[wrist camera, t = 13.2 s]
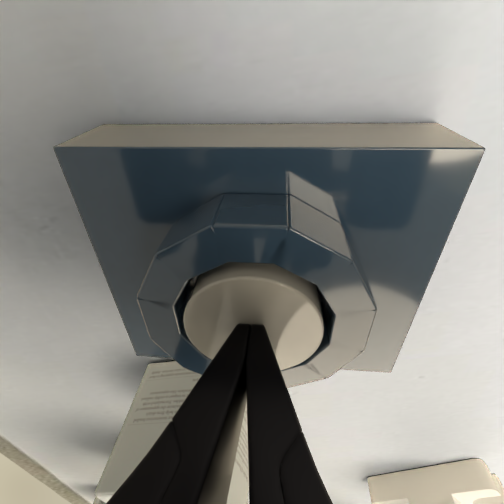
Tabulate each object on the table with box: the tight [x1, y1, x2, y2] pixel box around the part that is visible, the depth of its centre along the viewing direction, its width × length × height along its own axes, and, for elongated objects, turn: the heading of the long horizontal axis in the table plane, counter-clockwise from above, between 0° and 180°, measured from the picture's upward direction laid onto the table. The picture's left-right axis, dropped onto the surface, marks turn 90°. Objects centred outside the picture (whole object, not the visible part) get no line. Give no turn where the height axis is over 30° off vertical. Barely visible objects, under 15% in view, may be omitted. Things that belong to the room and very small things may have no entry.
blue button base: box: [53, 123, 485, 388], centre depth 11 cm, size 10×12×5 cm
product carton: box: [95, 361, 249, 504], centre depth 18 cm, size 6×6×7 cm
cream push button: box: [183, 262, 324, 370], centre depth 10 cm, size 4×4×2 cm
